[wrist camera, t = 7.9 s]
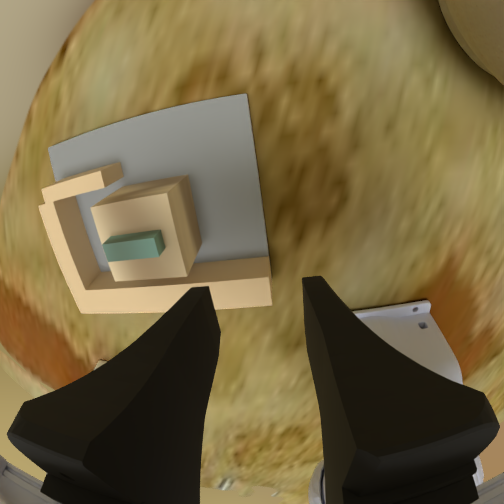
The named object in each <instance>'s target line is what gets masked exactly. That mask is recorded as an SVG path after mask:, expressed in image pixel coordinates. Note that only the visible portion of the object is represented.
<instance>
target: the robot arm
mask: <svg viewBox="0 0 504 504" xmlns="http://www.w3.org/2000/svg"><path fill="white" fill-rule="evenodd" d="M302 284H303V303H304V324H305V334H306V344H307V352H308V357H309V361H310V366H311V370H312V375H313V380H314V384H315V389H316V394H317V399H318V404H319V410H320V417H321V428H322V440H323V455H324V460H322V461H320V462H319V463H318V464H317V466H316V467H315V470H314V472H313V475H312V477H311V480H310V484H309V504H504V472H503V473H501V474H499V475H498V476H496V477H494V478H492V479H490V480H488V481H486V482H484V483H483V478H484V474H483V469H482V465H481V461H480V457H479V454H480V453H481V452H482V451H483V450H484V449H485V448H486V447H487V446H488V445H489V444H490V443H491V442H492V441H493V439H494V438H495V437H496V435H497V433H498V430H499V428H500V425H499V423H498V420H497V418H496V415H495V413H494V411H493V409H492V406H491V405H490V403H489V401H488V399H487V398H486V396H485V394H484V393H483V392H480V391H478V390H475V389H472V388H470V387H467V386H465V385H463V382H462V375H461V370H460V366H459V364H458V361H457V359H456V357H455V355H454V353H453V351H452V350H451V348H450V346H449V344H448V343H447V341H446V339H445V337H444V336H443V334H442V332H441V331H440V329H439V327H438V326H437V324H436V322H435V321H434V319H433V317H432V316H431V314H430V313H429V312H430V308H431V304H430V302H429V301H428V300H424V301H418V302H412V303H406V304H400V305H394V306H387V307H381V308H374V309H367V310H359V311H351V310H350V309H349V308H348V307H347V306H346V305H345V303H344V302H343V301H342V300H341V299H340V298H339V297H338V296H337V294H336V293H335V292H334V291H333V290H332V288H331V287H330V286H329V285H328V283H327V282H326V281H325V279H324V278H323V277H322V276H313V277H303V278H302ZM415 307H416V308H415ZM414 308H415V309H414ZM220 334H221V331H220V327H219V323H218V319H217V316H216V312H215V308H214V304H213V300H212V296H211V292H210V288H209V286H201V287H191V288H190V289H189V290H188V291H187V292H186V293H185V294H184V295H183V296H182V297H181V298H180V299H179V300H178V301H177V302H176V303H175V304H174V305H173V306H172V307H171V308H170V309H169V310H168V311H167V312H166V313H165V314H164V315H163V316H162V317H161V318H160V319H159V320H158V321H157V322H156V323H155V324H153V325H152V326H151V327H150V328H149V329H148V330H147V331H146V332H145V333H143V334H142V335H141V336H140V337H139V338H138V339H137V340H136V341H134V342H133V343H132V344H131V345H130V346H128V347H127V348H126V349H124V350H123V351H122V352H120V353H119V354H118V355H116V356H115V357H114V358H112V359H111V360H109V361H108V362H106V363H105V364H103V365H101V366H100V367H98V368H97V369H95V370H93V371H92V372H90V373H89V374H87V375H85V376H84V377H82V378H80V379H78V380H76V381H74V382H72V383H70V384H68V385H66V386H64V387H62V388H60V389H58V390H55V391H53V392H50V393H48V394H45V395H43V396H40V397H37V398H35V399H32V400H29V401H26V402H24V403H23V405H22V406H21V408H20V410H19V412H18V414H17V416H16V417H15V419H14V421H13V423H12V425H11V427H10V428H9V430H8V432H7V436H8V438H9V440H10V441H11V443H12V444H13V445H14V446H15V447H16V448H17V449H18V450H19V451H20V452H22V453H23V454H24V455H25V456H26V457H27V458H29V459H30V460H31V461H32V462H34V463H35V464H36V465H37V466H39V467H40V468H41V469H43V470H44V471H45V472H47V475H46V477H45V480H44V482H42V481H40V480H38V479H37V478H35V477H33V476H31V475H29V474H27V473H25V472H24V471H22V470H20V469H18V468H16V467H15V466H13V465H12V464H10V463H8V462H7V461H6V459H4V458H3V457H2V456H1V455H0V504H200V469H201V454H202V441H203V431H204V421H205V415H206V409H207V405H208V400H209V396H210V392H211V388H212V383H213V379H214V375H215V370H216V366H217V361H218V357H219V347H220Z"/></svg>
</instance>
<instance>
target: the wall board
mask: <svg viewBox="0 0 504 504" xmlns="http://www.w3.org/2000/svg"><path fill="white" fill-rule="evenodd" d="M48 151H49V155H50V160H51V164H52V168H53V172H54V176H55V180H56V182H55V183H53V184H51V185H49V186H47V187H45V188H43V189H41V190H42V194H43V197H44V201H45V202H44V203H43V204H41V205H39V210H40V213H41V216H42V219H43V222H44V225H45V228H46V231H47V234H48V237H49V239H50V242H51V245H52V248H53V250H54V253H55V255H56V258H57V260H58V263H59V265H60V268H61V270H62V273H63V275H64V277H65V280H66V282H67V284H68V286H69V289H70V291H71V293H72V295H73V297H74V299H75V302H76V304H77V306H78V308H79V310H80V312H81V313H153V312H167V311H168V310H169V309H170V308H171V307H172V306H173V305H174V304H175V303H176V302H177V301H178V300H179V299H180V298H181V297H182V296H183V295H184V294H185V293H186V292H187V291H188V290H189V289H190V288H191V287H201V286H209V288H210V292H211V296H212V300H213V304H214V308H215V310H217V309H232V308H246V307H259V306H271V305H272V274H271V266H270V258H269V250H268V242H267V234H266V226H265V219H264V211H263V204H262V196H261V189H260V181H259V174H258V167H257V159H256V152H255V145H254V138H253V131H252V124H251V117H250V110H249V103H248V97H247V94H239V95H233V96H226V97H220V98H215V99H209V100H204V101H199V102H194V103H189V104H185V105H180V106H176V107H171V108H167V109H163V110H159V111H155V112H151V113H148V114H144V115H140V116H137V117H133V118H130V119H127V120H123V121H120V122H117V123H114V124H111V125H108V126H105V127H102V128H99V129H96V130H93V131H90V132H87V133H85V134H82V135H79V136H76V137H74V138H71V139H69V140H66V141H64V142H61V143H59V144H56V145H54V146H52V147H49V148H48ZM187 174H188V176H189V181H190V186H191V191H192V197H193V201H194V206H195V211H196V216H197V221H198V226H199V230H200V235H201V240H202V245H201V247H200V249H199V252H198V254H197V256H196V258H195V260H194V263H193V265H192V267H191V269H190V272H189V274H188V276H187V277H174V278H160V279H146V280H131V281H116V282H115V280H114V277H113V275H112V272H111V269H110V267H109V264H108V261H107V258H106V255H105V253H104V250H103V247H102V244H101V241H100V238H99V235H98V231H97V228H96V225H95V222H94V218H93V215H92V212H91V208H90V207H92V206H93V205H95V204H96V203H98V202H99V201H101V200H102V199H104V198H105V197H107V196H108V195H110V194H112V193H113V192H115V191H116V190H118V189H119V188H121V187H123V186H128V185H133V184H138V183H143V182H148V181H153V180H158V179H164V178H169V177H175V176H181V175H187Z"/></svg>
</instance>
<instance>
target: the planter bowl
mask: <svg viewBox="0 0 504 504" xmlns="http://www.w3.org/2000/svg"><path fill="white" fill-rule="evenodd" d="M438 1H439V5H440V8H441V11H442V13H443V16H444V18H445V20H446V23H447V25H448V27H449V29H450V30H451V32H452V34H453V35H454V37H455V39H456V40H457V42H458V43H459V45H460V46H461V47H462V49H463V50H464V51H465V52H466V53H467V55H468V56H469V57H470V58H471V59H472V60H473V61H474V62H475V63H476V64H477V65H478V66H480V67H481V68H482V69H483V70H485V71H486V72H488V73H489V74H491V75H493V76H495V77H496V79H497V80H498V81H499V82H500V83H501V84H502V85H503V86H504V0H438Z"/></svg>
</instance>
